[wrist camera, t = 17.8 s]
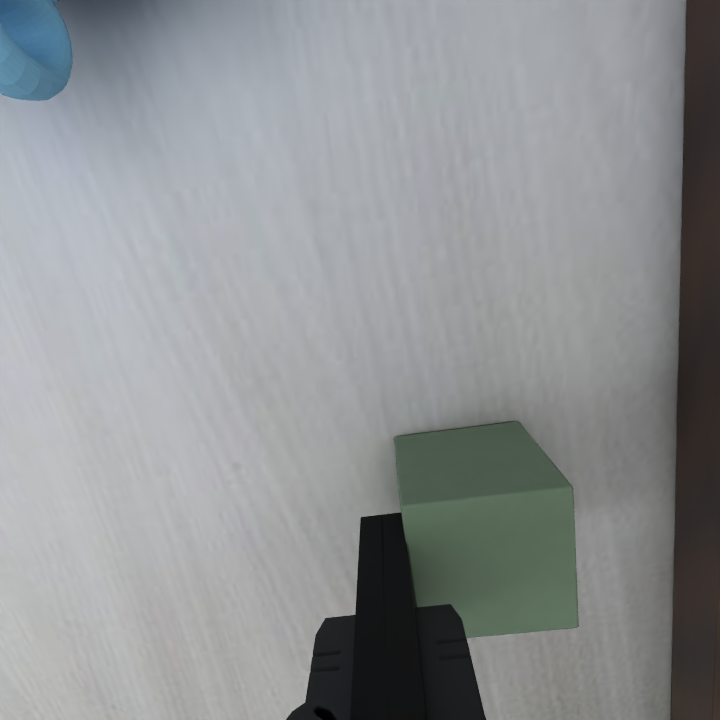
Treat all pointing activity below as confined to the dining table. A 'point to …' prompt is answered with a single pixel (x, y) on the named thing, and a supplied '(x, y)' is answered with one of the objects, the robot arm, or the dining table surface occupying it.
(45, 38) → the teapot
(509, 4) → the dining table surface
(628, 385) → the dining table surface
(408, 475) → the sage block
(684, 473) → the rail
